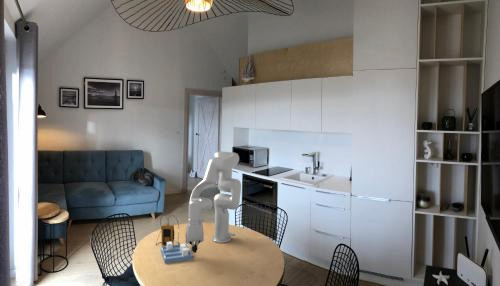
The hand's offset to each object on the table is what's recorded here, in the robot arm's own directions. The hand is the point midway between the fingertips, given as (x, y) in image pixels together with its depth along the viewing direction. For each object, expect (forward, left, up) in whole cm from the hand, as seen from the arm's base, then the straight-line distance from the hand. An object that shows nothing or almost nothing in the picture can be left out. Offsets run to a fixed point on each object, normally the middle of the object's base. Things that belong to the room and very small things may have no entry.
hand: (194, 251), depth 192 cm
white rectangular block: (+6, -6, -2) cm, 8 cm away
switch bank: (+10, -6, -3) cm, 12 cm away
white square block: (+6, 0, -2) cm, 6 cm away
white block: (+13, -12, -2) cm, 18 cm away
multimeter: (+11, -26, -3) cm, 28 cm away
